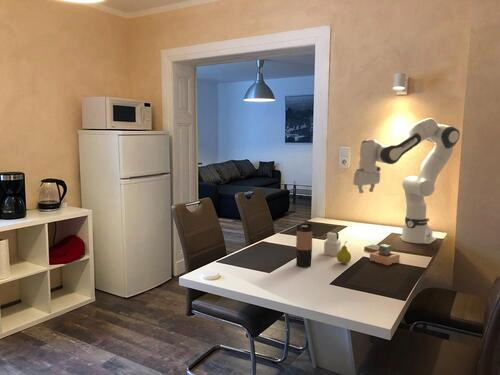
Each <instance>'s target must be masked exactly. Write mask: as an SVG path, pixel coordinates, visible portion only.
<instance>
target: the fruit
mask: <svg viewBox="0 0 500 375" xmlns="http://www.w3.org/2000/svg"><path fill="white" fill-rule="evenodd" d="M346 243H347V240H346V241H345V242H344V245H342V246H341V247H340V251H339V252H338V253H337V256H336V260H337V261H338V262H339V263H340V264H342V265H346V264H348V263H350V261H351V260H352V255H351V253H350V252H349V251H348V247H347V246H346V245H345V244H346Z"/></svg>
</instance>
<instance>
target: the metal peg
mask: <svg viewBox="0 0 500 375" xmlns="http://www.w3.org/2000/svg"><path fill="white" fill-rule="evenodd" d="M378 246H379V255H382V256H386V257H388V256H390V252H391V251H392V250H391V249H392V248H391V246H392V245H391V244H390V245H389V244H385V243H383V244H379V245H378ZM391 253H392V252H391Z"/></svg>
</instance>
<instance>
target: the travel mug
mask: <svg viewBox="0 0 500 375" xmlns="http://www.w3.org/2000/svg"><path fill="white" fill-rule="evenodd" d="M295 241H296V242H295V243H296V244H295V246H296V247H295V256H296V258H295V259H296V260H295V262H296V267H299V268H310V267H311V266H312V255H313V254H312V253H313V225H312V224H309V223H301V224H297V225H296V240H295Z"/></svg>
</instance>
